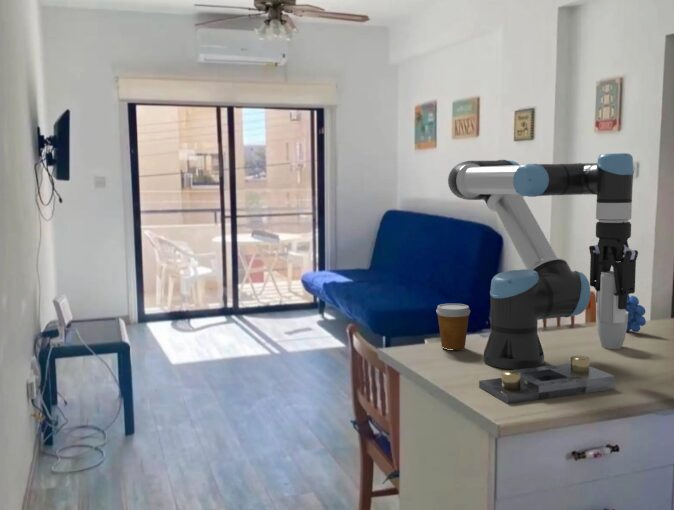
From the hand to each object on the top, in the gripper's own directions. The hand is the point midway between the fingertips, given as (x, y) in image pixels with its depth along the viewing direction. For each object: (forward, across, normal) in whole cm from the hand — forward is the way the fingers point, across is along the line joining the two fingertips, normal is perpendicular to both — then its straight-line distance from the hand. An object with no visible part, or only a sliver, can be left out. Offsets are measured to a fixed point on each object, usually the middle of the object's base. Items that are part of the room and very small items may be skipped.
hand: (610, 319), depth 151 cm
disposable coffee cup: (+14, +37, +22) cm, 45 cm away
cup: (+14, +22, -19) cm, 32 cm away
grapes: (+14, +35, -35) cm, 51 cm away
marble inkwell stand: (+14, -2, +19) cm, 23 cm away
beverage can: (+1, 0, 0) cm, 1 cm away
